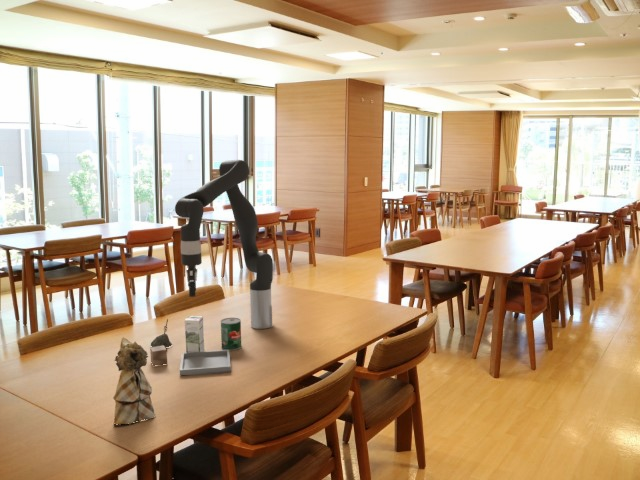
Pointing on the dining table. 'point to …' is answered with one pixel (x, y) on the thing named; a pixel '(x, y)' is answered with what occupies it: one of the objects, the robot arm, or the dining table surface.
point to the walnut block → (158, 355)
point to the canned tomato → (231, 333)
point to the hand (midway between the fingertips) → (192, 293)
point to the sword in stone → (162, 339)
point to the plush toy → (132, 385)
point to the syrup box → (194, 334)
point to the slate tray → (205, 362)
